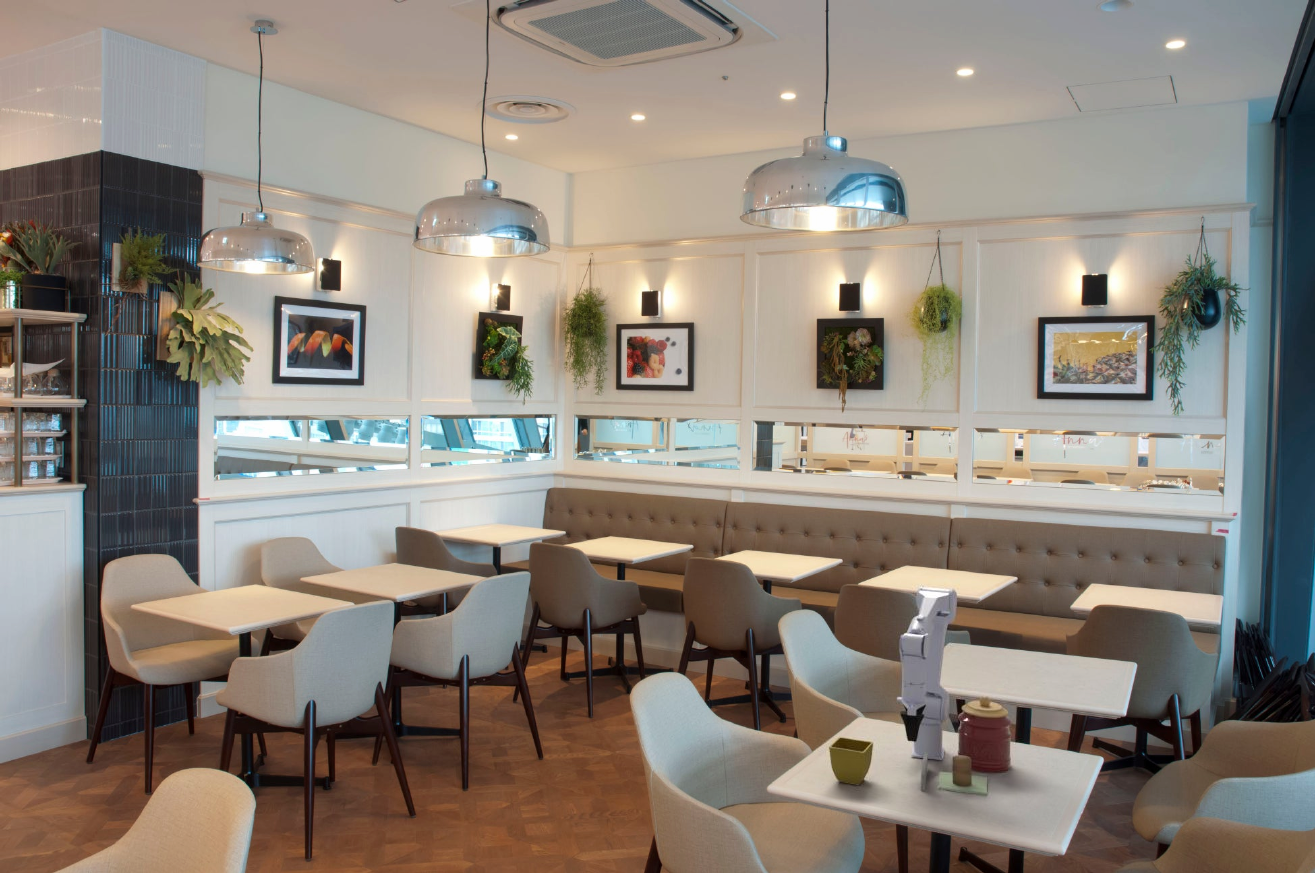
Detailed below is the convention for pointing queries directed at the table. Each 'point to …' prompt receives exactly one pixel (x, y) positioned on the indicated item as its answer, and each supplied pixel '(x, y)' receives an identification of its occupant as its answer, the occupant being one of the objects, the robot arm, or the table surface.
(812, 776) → the table surface
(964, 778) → the walnut cylinder
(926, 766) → the grey wall
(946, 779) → the green mat
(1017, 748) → the table surface
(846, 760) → the flower pot
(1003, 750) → the canister
